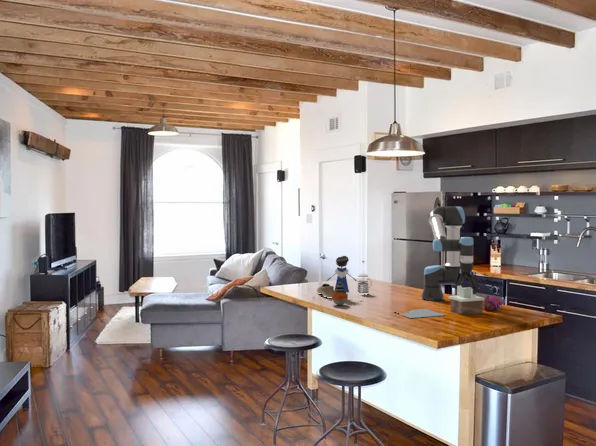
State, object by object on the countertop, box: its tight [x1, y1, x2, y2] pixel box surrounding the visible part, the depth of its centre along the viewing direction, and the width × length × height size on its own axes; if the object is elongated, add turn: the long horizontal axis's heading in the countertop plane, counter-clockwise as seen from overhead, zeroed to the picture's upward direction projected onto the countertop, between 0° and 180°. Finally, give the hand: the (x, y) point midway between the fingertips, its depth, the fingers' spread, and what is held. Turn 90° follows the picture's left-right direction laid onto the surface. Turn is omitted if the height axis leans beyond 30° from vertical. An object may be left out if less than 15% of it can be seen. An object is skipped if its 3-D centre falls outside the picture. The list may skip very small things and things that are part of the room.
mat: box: [402, 308, 446, 319], centre depth 307 cm, size 20×24×1 cm
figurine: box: [325, 255, 359, 293], centre depth 361 cm, size 23×9×30 cm, turn 84°
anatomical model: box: [483, 294, 506, 312], centre depth 321 cm, size 12×10×15 cm
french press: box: [357, 260, 373, 293], centre depth 378 cm, size 10×12×25 cm
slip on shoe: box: [316, 283, 335, 297], centre depth 375 cm, size 30×11×9 cm, turn 6°
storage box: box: [449, 299, 484, 316], centre depth 312 cm, size 11×15×8 cm
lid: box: [448, 286, 485, 302], centre depth 312 cm, size 12×16×7 cm
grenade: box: [331, 282, 349, 306], centre depth 335 cm, size 11×10×15 cm
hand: (466, 297), depth 312 cm, fingers closed on lid, 12 cm apart
